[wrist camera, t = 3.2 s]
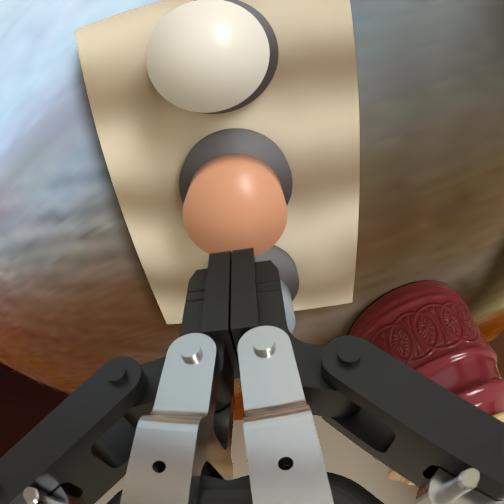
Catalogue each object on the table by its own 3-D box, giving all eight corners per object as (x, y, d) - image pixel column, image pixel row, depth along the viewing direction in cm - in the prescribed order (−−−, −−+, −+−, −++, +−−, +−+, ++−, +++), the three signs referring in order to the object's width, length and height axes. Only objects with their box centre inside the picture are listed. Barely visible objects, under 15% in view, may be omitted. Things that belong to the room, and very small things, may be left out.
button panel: (93, 31, 14) (67, 30, 11) (334, -10, 13) (352, -20, 11) (171, 301, 26) (165, 332, 23) (344, 280, 25) (354, 310, 23)
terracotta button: (179, 161, 15) (171, 177, 13) (277, 146, 14) (282, 161, 13) (199, 242, 17) (195, 265, 16) (285, 231, 17) (291, 253, 15)
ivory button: (150, 19, 11) (136, 14, 9) (258, -1, 10) (261, -9, 9) (168, 113, 13) (158, 123, 12) (271, 96, 13) (276, 103, 11)
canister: (477, 303, 28) (548, 439, 14) (396, 373, 35) (435, 504, 20) (413, 254, 24) (515, 452, 10) (317, 348, 30) (349, 526, 16)
